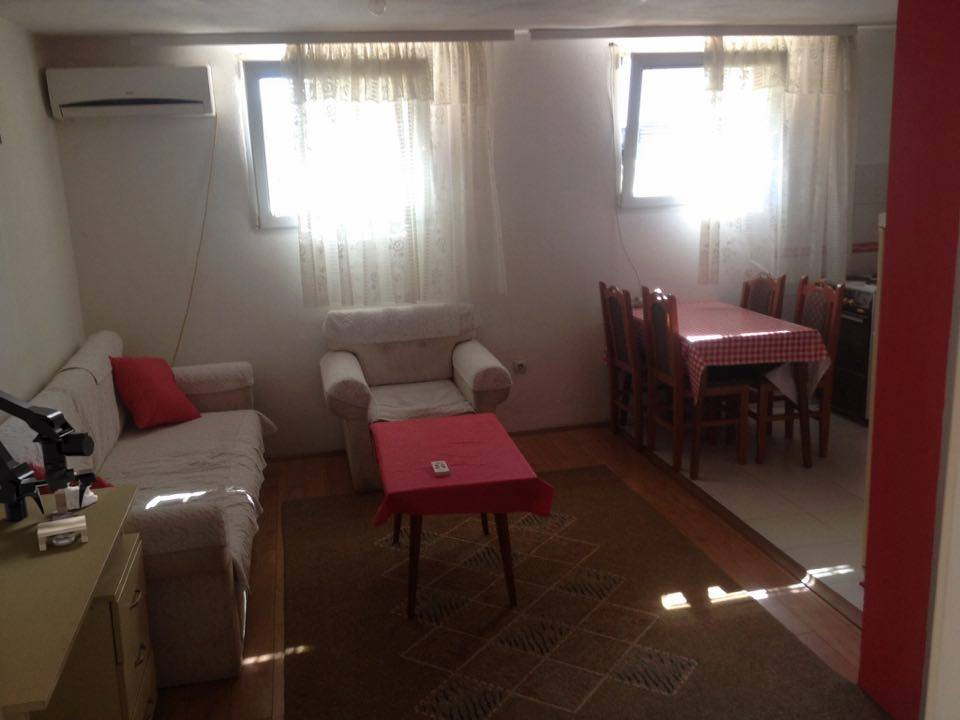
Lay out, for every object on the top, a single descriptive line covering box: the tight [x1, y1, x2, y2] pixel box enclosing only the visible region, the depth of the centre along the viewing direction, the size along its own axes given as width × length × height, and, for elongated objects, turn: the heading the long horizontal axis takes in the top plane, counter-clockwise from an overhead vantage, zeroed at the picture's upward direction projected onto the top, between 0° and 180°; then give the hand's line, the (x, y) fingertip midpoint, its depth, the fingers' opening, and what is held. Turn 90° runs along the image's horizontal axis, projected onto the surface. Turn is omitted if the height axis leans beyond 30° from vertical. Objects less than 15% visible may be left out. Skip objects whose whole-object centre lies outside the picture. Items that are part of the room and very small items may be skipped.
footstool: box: [37, 514, 89, 552], centre depth 215 cm, size 8×11×4 cm
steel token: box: [52, 532, 76, 547], centre depth 215 cm, size 5×5×2 cm
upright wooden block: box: [51, 490, 76, 537], centre depth 227 cm, size 16×5×7 cm, turn 27°
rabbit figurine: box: [52, 471, 98, 515], centre depth 240 cm, size 12×8×10 cm, turn 118°
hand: (62, 510), depth 232 cm, fingers open, 9 cm apart
